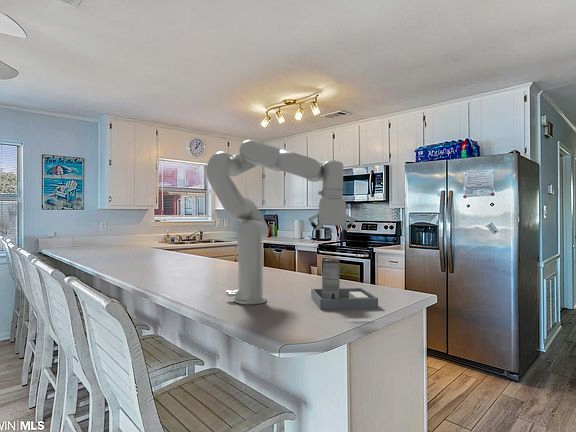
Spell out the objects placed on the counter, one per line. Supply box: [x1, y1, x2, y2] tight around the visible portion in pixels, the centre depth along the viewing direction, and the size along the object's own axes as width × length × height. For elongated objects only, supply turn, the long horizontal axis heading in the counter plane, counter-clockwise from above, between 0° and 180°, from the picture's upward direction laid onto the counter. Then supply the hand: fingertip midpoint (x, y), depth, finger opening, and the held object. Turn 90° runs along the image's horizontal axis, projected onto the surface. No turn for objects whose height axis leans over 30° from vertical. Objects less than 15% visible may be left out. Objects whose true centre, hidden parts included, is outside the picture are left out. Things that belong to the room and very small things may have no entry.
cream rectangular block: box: [349, 292, 369, 298], centre depth 136 cm, size 4×10×3 cm, turn 6°
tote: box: [310, 287, 379, 311], centre depth 135 cm, size 21×19×4 cm
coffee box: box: [321, 257, 341, 299], centre depth 135 cm, size 9×6×16 cm
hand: (330, 241), depth 135 cm, fingers open, 9 cm apart
